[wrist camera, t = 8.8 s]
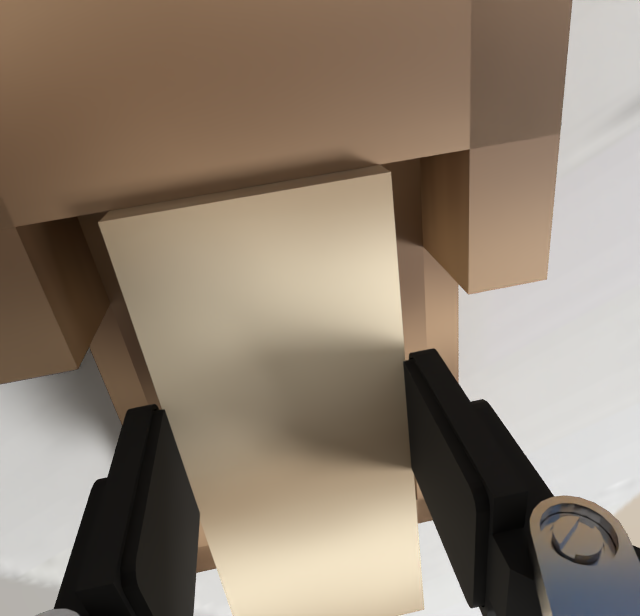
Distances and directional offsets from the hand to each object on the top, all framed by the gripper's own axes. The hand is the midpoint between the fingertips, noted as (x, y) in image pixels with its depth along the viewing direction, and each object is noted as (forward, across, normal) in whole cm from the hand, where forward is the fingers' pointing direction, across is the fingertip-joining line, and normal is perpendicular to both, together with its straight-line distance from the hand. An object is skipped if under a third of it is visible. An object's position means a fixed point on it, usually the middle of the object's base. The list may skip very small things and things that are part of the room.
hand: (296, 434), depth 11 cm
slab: (+3, 0, +1) cm, 3 cm away
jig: (+8, 0, +1) cm, 8 cm away
